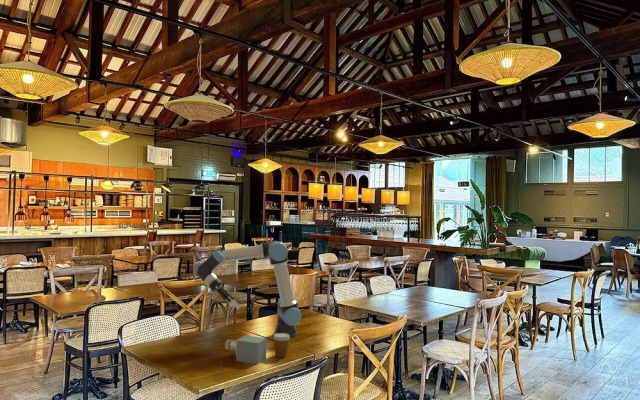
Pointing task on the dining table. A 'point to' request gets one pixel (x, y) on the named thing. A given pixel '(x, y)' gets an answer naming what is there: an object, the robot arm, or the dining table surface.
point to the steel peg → (230, 344)
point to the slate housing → (251, 349)
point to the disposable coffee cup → (281, 344)
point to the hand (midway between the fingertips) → (237, 307)
